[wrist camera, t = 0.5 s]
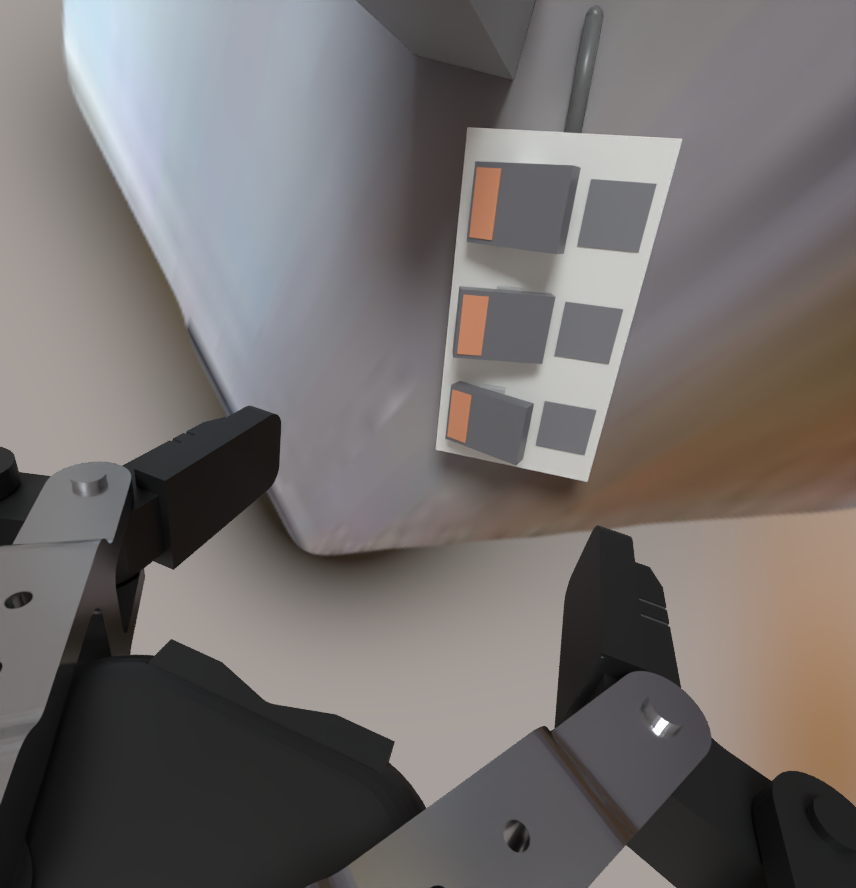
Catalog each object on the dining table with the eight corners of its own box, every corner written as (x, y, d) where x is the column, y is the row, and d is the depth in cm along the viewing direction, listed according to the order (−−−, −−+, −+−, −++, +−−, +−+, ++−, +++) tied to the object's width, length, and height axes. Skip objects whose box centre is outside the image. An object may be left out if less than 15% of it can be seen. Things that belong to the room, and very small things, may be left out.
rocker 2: (550, 293, 31) (555, 297, 30) (538, 358, 33) (542, 364, 32) (459, 286, 30) (461, 289, 29) (452, 352, 32) (453, 358, 31)
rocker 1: (580, 167, 26) (572, 165, 25) (563, 253, 28) (555, 254, 27) (485, 163, 29) (474, 161, 28) (475, 241, 31) (465, 241, 30)
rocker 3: (534, 403, 32) (526, 408, 31) (523, 459, 34) (515, 465, 33) (459, 380, 35) (450, 384, 34) (453, 433, 37) (444, 439, 36)
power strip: (708, 9, 26) (730, -28, 22) (587, 458, 39) (587, 486, 35) (494, 10, 29) (479, -24, 25) (448, 430, 42) (433, 453, 38)
